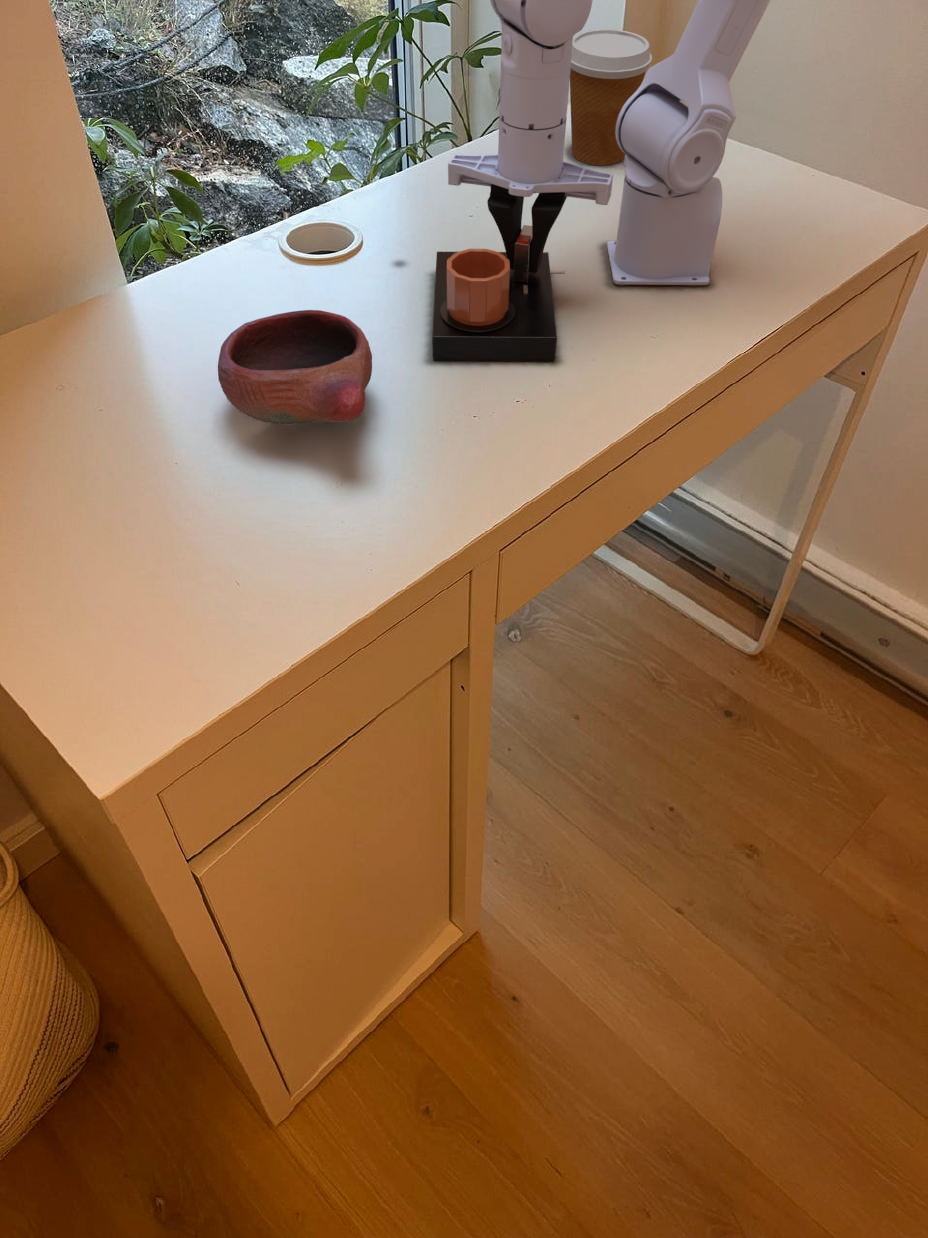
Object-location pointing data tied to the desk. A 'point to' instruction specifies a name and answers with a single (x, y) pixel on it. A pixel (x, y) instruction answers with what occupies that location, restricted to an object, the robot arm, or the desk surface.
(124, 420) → the desk surface
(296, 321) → the bowl
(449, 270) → the small cup
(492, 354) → the stove
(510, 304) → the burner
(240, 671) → the desk surface
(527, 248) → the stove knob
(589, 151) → the disposable coffee cup
